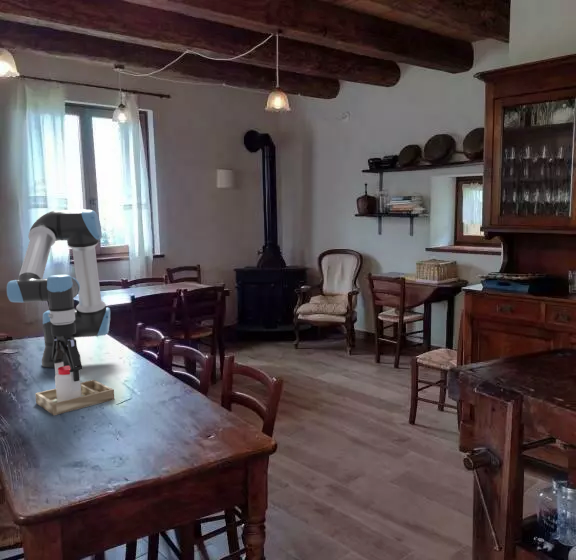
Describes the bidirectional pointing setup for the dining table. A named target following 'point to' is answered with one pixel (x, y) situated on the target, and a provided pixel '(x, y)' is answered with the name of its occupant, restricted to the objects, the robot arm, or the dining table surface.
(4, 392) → the dining table surface
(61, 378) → the pill bottle
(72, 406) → the crate
